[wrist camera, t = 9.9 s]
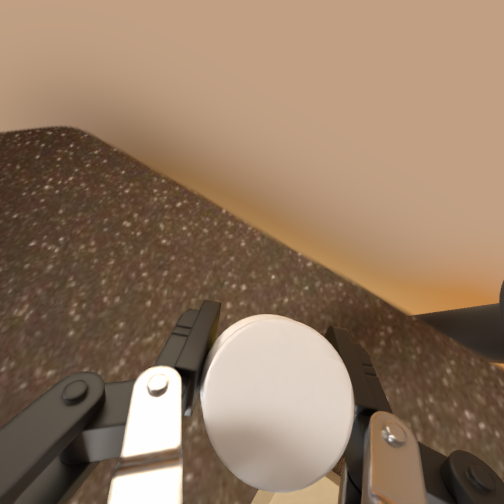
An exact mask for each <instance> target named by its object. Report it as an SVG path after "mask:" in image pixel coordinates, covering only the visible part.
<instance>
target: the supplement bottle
mask: <svg viewBox="0 0 504 504" xmlns="http://www.w3.org/2000/svg"><path fill="white" fill-rule="evenodd" d="M200 396H201V403H202V408H203V417H204V422H205V427H206V431H207V434H208V437H209V440H210V442H211V445H212V447H213V449H214V450H215V452H216V454H217V456H218V457H219V459H220V460H221V461H222V463H223V464H224V465H225V466H226V467H227V468H228V470H229V471H230V472H231V473H233V474H234V475H235V476H236V477H237V478H239V479H240V480H242V481H243V482H244V483H246V484H248V485H250V486H252V487H254V488H256V489H260V490H264V491H267V492H274V493H288V492H293V491H298V490H302V489H304V488H307V487H309V486H311V485H313V484H314V483H316V482H318V481H319V480H320V479H321V478H323V477H325V476H326V475H327V473H328V472H330V471H331V470H332V468H333V467H334V466H335V465H336V464H337V462H338V461H339V459H340V458H341V456H342V455H343V453H344V451H345V449H346V447H347V444H348V441H349V438H350V435H351V431H352V426H353V421H354V394H353V388H352V384H351V381H350V377H349V374H348V371H347V369H346V367H345V365H344V363H343V361H342V359H341V357H340V356H339V354H338V352H337V351H336V350H335V349H334V347H333V346H332V345H331V344H330V343H329V342H328V341H327V339H326V338H324V337H323V336H322V335H321V334H319V333H318V332H317V331H315V330H314V329H312V328H311V327H309V326H307V325H305V324H302V323H300V322H297V321H294V320H292V319H289V318H287V317H283V316H278V315H270V314H262V315H255V316H251V317H247V318H245V319H242V320H240V321H238V322H236V323H235V324H233V325H231V326H230V327H229V328H228V329H226V330H225V331H224V332H223V333H222V334H221V335H220V336H219V337H218V339H217V340H216V341H215V343H214V344H213V345H212V347H211V349H210V351H209V353H208V355H207V357H206V360H205V362H204V366H203V370H202V375H201V383H200Z"/></svg>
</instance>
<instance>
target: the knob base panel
mask: <svg viewBox="0 0 504 504" xmlns="http://www.w3.org/2000/svg"><path fill="white" fill-rule="evenodd" d="M339 485H340V476H339V475H337V474H336V473H335V472H333V471H332V470H331V471H330V472H328V473H327V475H326V476H325V477H323V478H321V479H320V480H319V481H318V482H316V483H314V484H313V485H311V486H309V487H307V488H304V489H302V490H298V491H293V492H288V493H274V492H267V491H264V490H260V489H258V491H257V493H256V495H255V497H254V499H253V501H252V503H251V504H338V494H339Z"/></svg>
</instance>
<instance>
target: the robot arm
mask: <svg viewBox="0 0 504 504" xmlns="http://www.w3.org/2000/svg"><path fill="white" fill-rule="evenodd" d="M220 308H221V303H219V302H214V301H209V300H204V302H203V304H202V306H201V308H200V310H194V309H189V310H188V311H186V312H185V313H184V314H182V315H181V316H180V318H179V320H178V322H177V324H176V326H175V327H174V329H173V331H172V334H171V335H170V336H169V338H168V340H167V342H166V344H165V346H164V347H163V349H162V351H161V353H160V355H159V357H158V358H157V360H156V362H155V364H154V365H153V367H152V368H150V369H148V370H146V371H145V372H143V373H142V374H141V375H140V376H139V377H138V378H136V379H133V380H130V381H122V382H112V383H104V380H103V378H102V377H101V376H100V375H99V374H97V373H94V372H79V373H75V374H72V375H70V376H67V377H65V378H64V379H62V380H61V381H59V382H58V383H56V384H55V385H54V386H53V387H51V388H50V389H49V390H48V391H46V392H45V393H44V394H43V395H41V396H40V397H39V398H38V399H36V400H35V401H34V402H33V403H31V404H30V405H29V406H28V407H26V408H25V409H24V410H22V411H21V412H20V413H19V414H17V415H16V416H15V417H14V418H12V419H11V420H10V421H9V422H7V423H6V424H5V425H4V426H2V427H1V428H0V504H67V502H68V501H69V500H70V499H71V497H72V496H73V495H74V494H75V492H76V491H77V490H78V489H79V487H80V486H81V485H82V484H83V482H84V481H85V480H86V479H87V477H88V476H89V475H90V474H91V472H92V471H93V470H94V469H95V467H96V466H97V465H98V464H99V462H100V461H101V460H105V459H111V458H116V457H120V460H119V463H118V465H117V466H116V468H115V471H114V474H113V478H112V482H111V487H110V492H109V497H108V502H107V504H182V454H181V423H182V420H183V417H184V416H189V417H191V416H192V413H193V409H194V406H195V403H196V400H197V397H198V393H199V390H200V383H201V375H202V370H203V366H204V362H205V360H206V357H207V355H208V353H209V351H210V349H211V347H212V345H213V344H214V342H215V338H216V333H217V328H218V321H219V315H220ZM324 338H326V339H327V341H328V342H329V343H330V344H331V345H332V346H333V347H334V349H335V350H336V351H337V352H338V354H339V356H340V357H341V359H342V361H343V363H344V365H345V367H346V369H347V371H348V374H349V377H350V381H351V384H352V388H353V394H354V421H353V426H352V431H351V435H350V438H349V441H348V444H347V447H346V449H345V451H344V455H345V460H344V462H343V464H342V467H341V475H340V485H339V494H338V504H504V483H503V481H502V480H501V479H500V478H499V476H498V475H497V474H496V473H495V472H494V471H493V470H492V469H491V468H490V467H489V466H488V465H487V464H486V463H484V462H483V461H482V460H480V459H479V458H477V457H476V456H474V455H472V454H470V453H468V452H466V451H462V450H456V451H454V452H452V453H451V454H450V455H449V456H448V457H446V456H444V455H442V454H440V453H439V452H437V451H435V450H433V449H431V448H429V447H427V446H425V445H423V444H421V443H420V442H418V441H417V439H416V437H415V436H414V434H413V432H412V431H411V430H410V428H409V427H408V426H407V425H406V424H405V423H404V422H403V421H402V420H400V419H399V418H398V417H396V416H394V415H393V413H392V410H391V408H390V406H389V403H388V401H387V398H386V396H385V394H384V391H383V389H382V386H381V384H380V382H379V379H378V377H376V372H375V370H374V368H373V367H372V366H373V365H372V363H371V360H370V358H369V356H368V354H367V353H366V351H365V350H364V349H363V348H362V347H361V345H360V344H358V343H354V342H353V339H352V337H351V334H350V332H349V330H348V329H345V328H340V327H335V326H329V328H328V329H327V332H326V334H325V337H324Z"/></svg>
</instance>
